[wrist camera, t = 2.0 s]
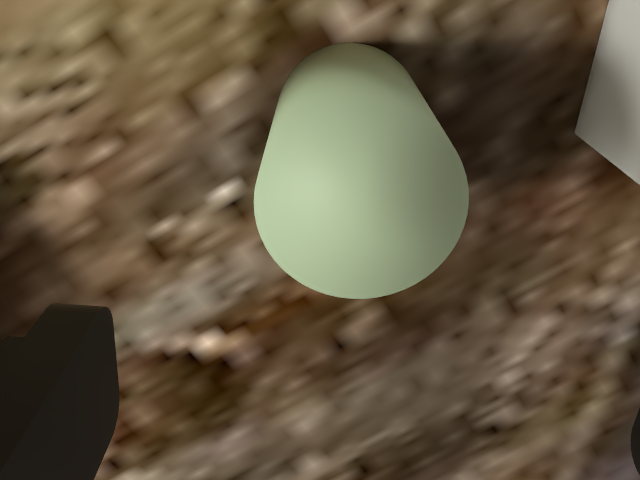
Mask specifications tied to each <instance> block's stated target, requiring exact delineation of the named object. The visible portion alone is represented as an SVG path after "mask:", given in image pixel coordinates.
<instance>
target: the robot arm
mask: <svg viewBox="0 0 640 480" xmlns="http://www.w3.org/2000/svg"><path fill="white" fill-rule="evenodd" d="M118 410H119V383H118V372H117V361H116V349H115V338H114V327H113V318H112V314H111V311H110V310H109V308H107V307H100V306H85V305H70V304H55V303H54V304H51V305H50V306H49V307H48V308H47V309H46V310H45V311H44V313H43V314H42V315H41V317H40V318H39V319H38V321H37V322H36V323H35V324H34V326H33V327H32V328H31V330H30V331H29V332H28V334H27V335H26V336H25V337H10V336H8V337H7V338H5V339H4V340H2V341H1V342H0V480H94V478H95V475H96V473H97V471H98V469H99V466H100V464H101V462H102V459H103V457H104V455H105V452H106V450H107V448H108V445H109V443H110V441H111V438H112V436H113V433H114V430H115V426H116V422H117V417H118ZM631 451H632V457H633V461H634V464H635V466H636V469H637V471H638V473H639V475H640V409H639V412H638V414H637V417H636V419H635V422H634V425H633V428H632V433H631Z"/></svg>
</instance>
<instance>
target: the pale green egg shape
mask: <svg viewBox="0 0 640 480" xmlns="http://www.w3.org/2000/svg"><path fill="white" fill-rule="evenodd" d="M468 204H469V189H468V183H467V177H466V173H465V170H464V167H463V164H462V161H461V159H460V157H459V155H458V153H457V151H456V150H455V148H454V146H453V145H452V143H451V141H450V140H449V138H448V137H447V135H446V133H445V132H444V130H443V128H442V127H441V125H440V124H439V122H438V120H437V119H436V117H435V115H434V114H433V112H432V111H431V109H430V107H429V106H428V104H427V103H426V101H425V99H424V98H423V96H422V94H421V93H420V91H419V90H418V88H417V86H416V85H415V83H414V81H413V80H412V78H411V77H410V75H409V74H408V72H407V71H406V69H405V68H404V67H403V66H402V65H401V64H400V63H399V62H398V61H397V60H396V59H395V58H393V57H392V56H391V55H389V54H388V53H386V52H384V51H383V50H380V49H378V48H376V47H373V46H369V45H366V44H360V43H340V44H334V45H331V46H327V47H324V48H322V49H320V50H317V51H316V52H314V53H312V54H310V55H309V56H308V57H306V58H305V59H304V60H302V61H301V62H300V63H299V64H298V65H297V66H296V67H295V68H294V70H293V71H292V72H291V74H290V75H289V76H288V78H287V80H286V82H285V84H284V86H283V88H282V91H281V93H280V97H279V101H278V104H277V108H276V112H275V115H274V119H273V123H272V126H271V130H270V133H269V137H268V141H267V144H266V148H265V152H264V155H263V159H262V162H261V166H260V170H259V173H258V177H257V181H256V185H255V193H254V214H255V219H256V224H257V228H258V231H259V234H260V237H261V239H262V241H263V243H264V245H265V247H266V249H267V250H268V252H269V253H270V255H271V256H272V258H273V259H274V260H275V261H276V263H277V264H278V265H279V266H280V267H281V268H282V269H283V270H284V271H285V272H286V273H288V274H289V275H290V276H291V277H292V278H294V279H295V280H297V281H298V282H300V283H301V284H303V285H305V286H307V287H309V288H311V289H313V290H316V291H318V292H321V293H324V294H327V295H331V296H336V297H342V298H350V299H366V298H376V297H381V296H386V295H390V294H393V293H396V292H399V291H402V290H404V289H406V288H408V287H410V286H413V285H414V284H416V283H418V282H419V281H421V280H423V279H424V278H426V277H427V276H428V275H429V274H431V273H432V272H433V271H434V270H436V269H437V268H438V267H439V266H440V265H441V264H442V263H443V262H444V260H445V259H446V258H447V257H448V255H449V254H450V253H451V251H452V250H453V248H454V247H455V245H456V243H457V241H458V240H459V238H460V235H461V233H462V230H463V228H464V225H465V221H466V217H467V212H468Z"/></svg>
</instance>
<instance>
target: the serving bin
mask: <svg viewBox="0 0 640 480" xmlns="http://www.w3.org/2000/svg"><path fill="white" fill-rule="evenodd" d="M574 133H575V134H576V135H577V136H578V137H580V138H581V139H582V140H583V141H585V142H586V143H587V144H589V145H590V146H591V147H592V148H594V149H595V150H596V151H597V152H599V153H600V154H601V155H602V156H604V157H605V158H606V159H608V160H609V161H610V162H611V163H613V164H614V165H615V166H616V167H618V168H619V169H620V170H622V171H623V172H624V173H625V174H627V175H628V176H629V177H630V178H632V179H633V180H634V181H635V182H637V183H638V184H639V185H640V0H609V3H608V7H607V10H606V14H605V18H604V22H603V26H602V29H601V33H600V37H599V41H598V45H597V48H596V52H595V56H594V60H593V64H592V67H591V71H590V75H589V79H588V83H587V86H586V90H585V94H584V98H583V102H582V105H581V109H580V113H579V117H578V121H577V124H576V128H575V132H574Z"/></svg>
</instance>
